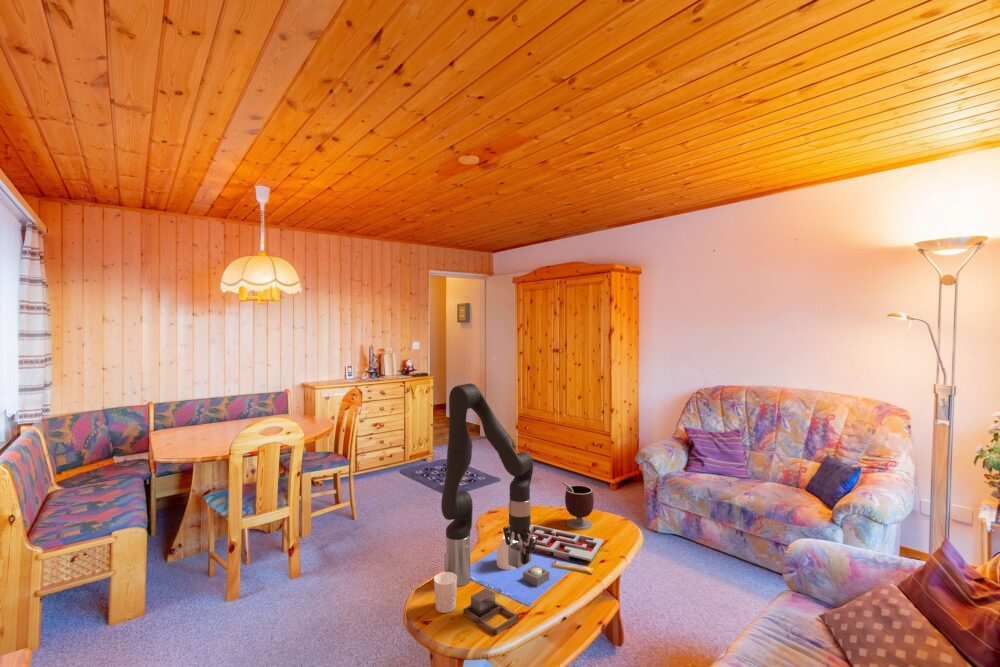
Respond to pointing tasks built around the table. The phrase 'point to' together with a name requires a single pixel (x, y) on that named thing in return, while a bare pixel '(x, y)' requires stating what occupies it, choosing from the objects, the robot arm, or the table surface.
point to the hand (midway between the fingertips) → (519, 560)
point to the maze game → (565, 543)
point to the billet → (516, 555)
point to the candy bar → (573, 567)
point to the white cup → (445, 591)
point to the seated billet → (482, 602)
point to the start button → (536, 571)
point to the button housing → (536, 579)
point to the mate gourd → (579, 505)
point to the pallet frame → (483, 619)
